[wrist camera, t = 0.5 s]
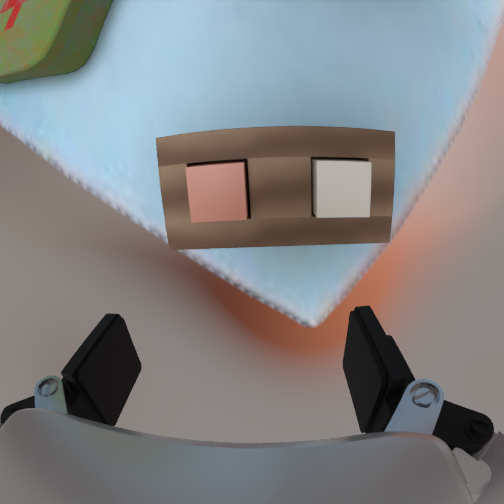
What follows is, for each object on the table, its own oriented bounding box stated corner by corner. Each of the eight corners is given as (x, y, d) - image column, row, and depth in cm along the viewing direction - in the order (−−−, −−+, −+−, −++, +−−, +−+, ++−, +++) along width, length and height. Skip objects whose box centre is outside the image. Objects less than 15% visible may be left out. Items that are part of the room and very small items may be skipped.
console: (174, 138, 30) (155, 138, 25) (373, 132, 29) (394, 131, 23) (184, 232, 35) (169, 250, 29) (371, 226, 33) (389, 242, 28)
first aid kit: (39, -24, 16) (10, -37, 7) (148, -58, 17) (125, -87, 8) (-4, 89, 26) (-41, 90, 16) (90, 76, 27) (44, 65, 18)
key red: (196, 163, 29) (185, 167, 24) (246, 159, 28) (243, 162, 24) (201, 211, 31) (191, 222, 26) (249, 209, 30) (246, 220, 26)
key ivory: (308, 158, 28) (316, 160, 24) (356, 159, 28) (371, 162, 23) (309, 207, 30) (316, 217, 26) (355, 206, 30) (369, 217, 25)
